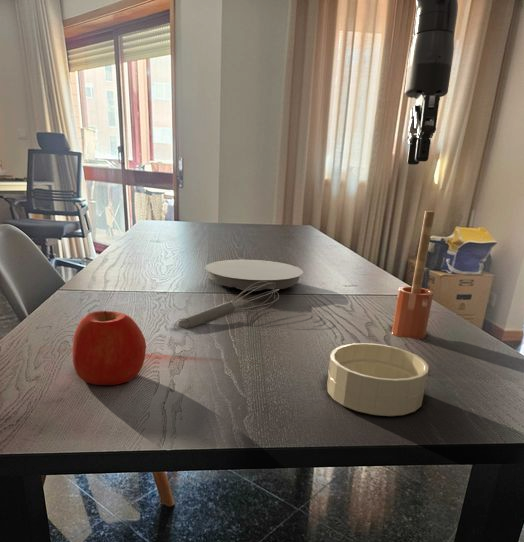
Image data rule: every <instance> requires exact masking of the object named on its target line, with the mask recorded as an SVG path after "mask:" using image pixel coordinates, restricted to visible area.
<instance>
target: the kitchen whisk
mask: <svg viewBox="0 0 524 542" xmlns="http://www.w3.org/2000/svg"><path fill="white" fill-rule="evenodd" d="M260 282H263V281H260ZM265 282H267V281H265ZM257 283H258V282H257ZM272 283H273V282H272ZM255 284H256V283H255ZM267 284H270V283H269V282H268V283H267ZM274 284H275V283H274ZM253 285H254V284H253ZM264 285H266V284H264ZM264 285H262V286H264ZM270 285H271V284H270ZM251 286H252V285H251ZM271 286H272V285H271ZM249 287H250V286H249ZM249 287H248V288H249ZM255 287H258V286H255ZM260 287H261V286H260ZM266 287H268V286H266ZM248 288H247V289H248ZM252 288H254V287H252ZM258 288H259V287H258ZM258 288H256V289H258ZM269 288H271V287H269ZM272 288H273V287H272ZM272 288H271V289H270V291H266V292H263V293H259V294H257V295H254V296H253V297H251V296H250V297H249V298H246V299H244V300H242V301H240V300H241V299H242V298H244V297H246V296H247V295H249V294H251V293H252V292H255V291H254V290H253V291H248V290H249V289H248V290H246V289H245V290H242V291H241V292H240V293H239V294H238V295H237V296H236V297H235V298H233V299H232V300H231V301H226V302H224V303H221V304H219V305H215V306H213V307H211V308H208V309H204V310H202V311H199V312H197V313H194V314H192V315H189V316H186V317H184V318H179V319H177V321H175V323H174V325H173V330H176V328H175V327H176V324H177V323H178V327H182V328H184V329H189V328H194V327H196V326H199V325H203V324H205V325H206V324H209V323H212V322H214V321H216V320H218V319H221V318H224V317H226V316H229V315H232V314H233V313H235V312H239V311H244V307H238V308H236V307H237V306H240V305H243V304H246V303H248V302H251V301H253V300H257V299H260V298H262V297H265V296H267V295H270V296H269V297H268V298H267V299H266V300H265V301H264V302H261V303H260V304H257V305H255V306H247V307H245V310H248V312H255V311H257V309H253V308H257V307H262V306H265V307H263V308H259V309H258V311H261V310H264V309H266V308H269V307H270V306H271V304H273V303H274V302H276V301H278V300H279V298H280V295H279V294H280V293H277V295H278V297H277V299H276V292H278V291H280V289H278V288H277V289H276V288H274V289H272ZM250 289H251V288H250ZM256 289H255V290H256ZM247 291H248V293H246V292H247ZM244 293H246V294H245V295H243V296H241V295H242V294H244ZM273 295H274V297H273V301H271V302H268V303H266V302H267V301H269V299H271V297H272V296H273ZM239 296H241V297H240V298H238V297H239ZM237 298H238V299H237ZM236 299H237V300H236ZM235 300H236V301H235ZM238 301H240V302H238ZM266 305H268V306H266ZM249 309H250V310H249ZM251 309H252V310H251Z"/></svg>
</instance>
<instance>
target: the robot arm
mask: <svg viewBox="0 0 524 542" xmlns="http://www.w3.org/2000/svg"><path fill="white" fill-rule="evenodd" d="M458 2H459V1H458V0H415V15H414V23H413V29H412V30H413V31H412V39H411V44H410V48H409V53H408V62H407V69H406V76H405V77H406V79H405V87H404V95H405V96H406V97H408V98H410V99H415V104H414V105H413V107H411V109H410V118H409V124H408V132H407V138H406V139H407V142H408V144H409V145H408V153H407V161H406V163H407V165H416V166H417V165H419V164H420V162H424V163H425V162H427V161H428V160H429V156H430V148H431V142H432V141H431V140H432V139H433V136H434V134H435V133H436V131H437V122H438V115H439V114H438V113H439V107H440V101H441V98H443V97H445V96H446V95H447V94H448V93H449V87H450V79H451V74H452V67H453V66H452V65H453V58H454V50H455V33H456V27H457V19H458V11H459V3H458Z"/></svg>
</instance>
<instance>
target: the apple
mask: <svg viewBox="0 0 524 542" xmlns="http://www.w3.org/2000/svg"><path fill="white" fill-rule="evenodd" d="M146 352H147V343H146V338H145V336H144V333H143V332H142V330H141V329H140V327H139V325H138V324H137V323H136V321H135V320H134V319H133V318H132V317H131V316H130V315H128V314H126V313H123V312H120V311H113V310H112V311H111V310H99V311H98V310H97V311H93V312H89V313H88V314H87V315H85V316H84V317H83V318H81V320H80V321H79V323H78V325H77V327H76V329H75V331H74V334H73V341H72V364H73V368H74V371H75V372H76V374H77V376H78V377H79V378H80V379H81V380H83V381H84V382H85V383H88V384H91V385H97V386H98V385H99V386H117V385H120V384H124V383H126V382H129V381H131V380H132V379H134V378H135V377H137V376H138V375H139V373H140V372H141V370H142V368H143V365H144V363H145V359H146Z"/></svg>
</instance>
